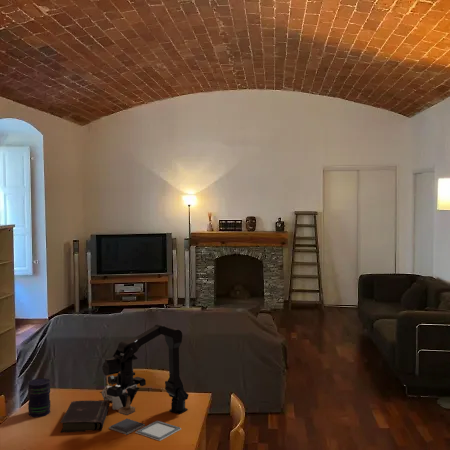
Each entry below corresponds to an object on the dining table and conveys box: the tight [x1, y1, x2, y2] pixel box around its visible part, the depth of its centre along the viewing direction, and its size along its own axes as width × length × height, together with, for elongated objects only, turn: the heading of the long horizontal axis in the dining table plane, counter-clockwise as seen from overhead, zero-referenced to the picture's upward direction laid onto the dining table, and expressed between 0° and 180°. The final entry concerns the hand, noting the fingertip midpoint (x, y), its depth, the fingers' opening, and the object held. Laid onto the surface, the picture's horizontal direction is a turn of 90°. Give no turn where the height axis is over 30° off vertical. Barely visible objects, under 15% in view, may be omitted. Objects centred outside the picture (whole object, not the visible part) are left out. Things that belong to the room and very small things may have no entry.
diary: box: [59, 400, 110, 434], centre depth 239 cm, size 19×25×5 cm
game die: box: [99, 384, 117, 402], centre depth 262 cm, size 9×8×10 cm
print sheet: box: [134, 420, 182, 441], centre depth 228 cm, size 14×14×1 cm
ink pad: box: [108, 418, 146, 435], centre depth 231 cm, size 11×11×1 cm
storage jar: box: [27, 377, 52, 418], centre depth 247 cm, size 10×10×15 cm
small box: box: [111, 384, 128, 411], centre depth 254 cm, size 8×6×10 cm
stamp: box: [118, 396, 136, 416], centre depth 231 cm, size 5×5×7 cm
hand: (126, 405), depth 231 cm, fingers closed on stamp, 3 cm apart
